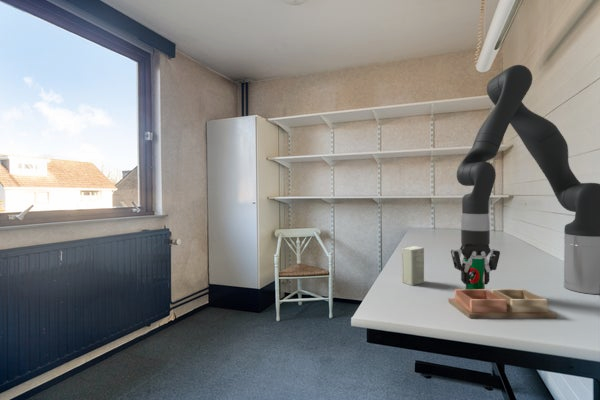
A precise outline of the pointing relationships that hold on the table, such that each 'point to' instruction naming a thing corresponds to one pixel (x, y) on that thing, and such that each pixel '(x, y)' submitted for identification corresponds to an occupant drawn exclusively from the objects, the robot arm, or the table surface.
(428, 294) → the table surface
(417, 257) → the skincare box
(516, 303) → the can rack
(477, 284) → the soda can
